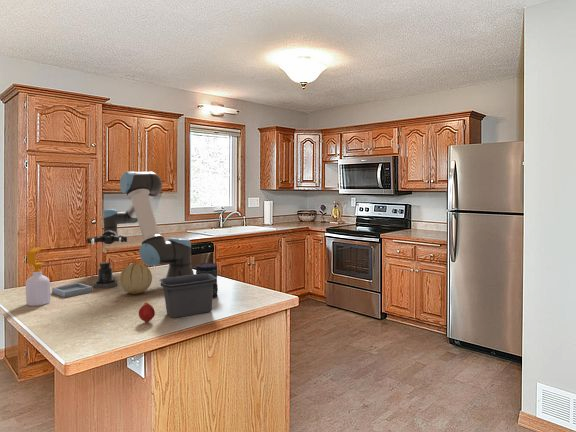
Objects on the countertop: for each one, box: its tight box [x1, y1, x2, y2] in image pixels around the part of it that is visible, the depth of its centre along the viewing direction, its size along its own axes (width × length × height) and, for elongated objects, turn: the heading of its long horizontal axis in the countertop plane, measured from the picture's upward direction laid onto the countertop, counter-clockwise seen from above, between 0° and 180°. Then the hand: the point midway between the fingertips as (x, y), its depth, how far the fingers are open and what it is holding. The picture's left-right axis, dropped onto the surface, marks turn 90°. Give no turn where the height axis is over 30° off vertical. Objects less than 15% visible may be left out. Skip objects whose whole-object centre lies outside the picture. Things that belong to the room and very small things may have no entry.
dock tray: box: [51, 282, 93, 298], centre depth 204 cm, size 13×13×2 cm
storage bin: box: [159, 273, 216, 319], centre depth 173 cm, size 21×16×14 cm
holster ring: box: [93, 279, 118, 289], centre depth 217 cm, size 11×11×2 cm
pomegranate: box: [138, 301, 156, 323], centre depth 160 cm, size 6×6×8 cm
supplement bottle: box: [97, 261, 114, 284], centre depth 217 cm, size 7×7×12 cm
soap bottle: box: [25, 246, 51, 307], centre depth 185 cm, size 9×9×25 cm
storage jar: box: [195, 262, 219, 300], centre depth 197 cm, size 10×10×15 cm
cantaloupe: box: [119, 261, 153, 295], centre depth 202 cm, size 15×15×15 cm
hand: (106, 242), depth 225 cm, fingers open, 13 cm apart
